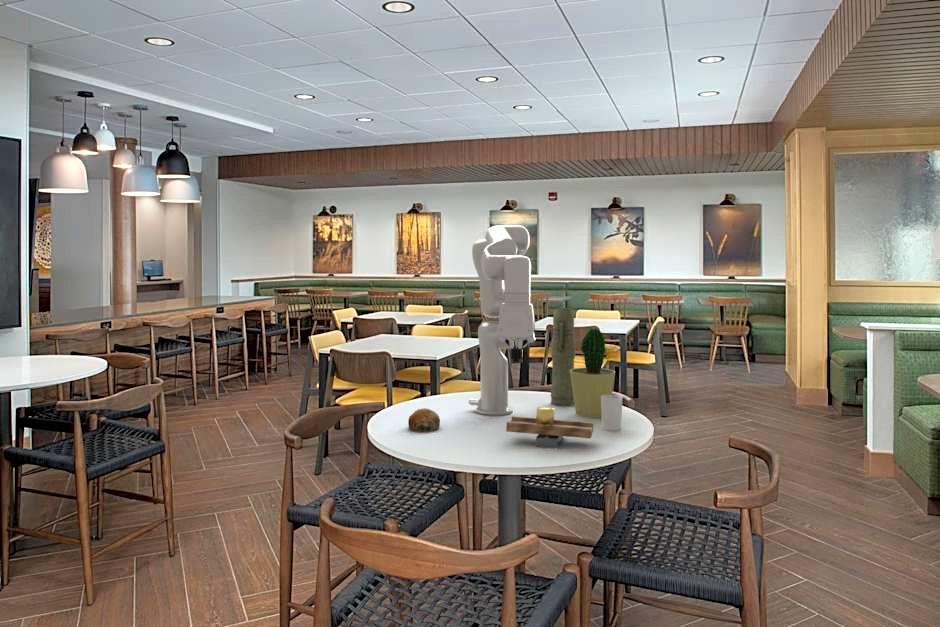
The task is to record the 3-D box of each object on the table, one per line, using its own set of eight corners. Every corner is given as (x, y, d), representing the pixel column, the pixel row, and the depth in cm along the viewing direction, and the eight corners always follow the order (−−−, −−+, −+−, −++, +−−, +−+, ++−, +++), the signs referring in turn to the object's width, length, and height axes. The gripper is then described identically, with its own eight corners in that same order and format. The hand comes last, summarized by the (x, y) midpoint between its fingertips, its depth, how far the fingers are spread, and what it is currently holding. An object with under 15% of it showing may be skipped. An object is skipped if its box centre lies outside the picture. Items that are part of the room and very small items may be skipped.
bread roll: (442, 438, 225) (446, 413, 228) (431, 431, 216) (435, 405, 219) (413, 436, 228) (417, 411, 231) (401, 429, 219) (405, 403, 222)
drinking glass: (609, 431, 218) (610, 399, 218) (596, 427, 224) (596, 395, 223) (626, 429, 221) (627, 397, 221) (612, 425, 227) (613, 394, 227)
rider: (534, 426, 204) (535, 408, 203) (538, 422, 209) (539, 405, 208) (551, 428, 202) (552, 411, 202) (554, 424, 207) (556, 407, 207)
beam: (506, 431, 204) (506, 421, 204) (512, 424, 213) (512, 415, 213) (590, 438, 198) (590, 428, 198) (593, 431, 207) (593, 421, 207)
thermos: (575, 400, 267) (576, 307, 264) (574, 406, 255) (575, 309, 253) (551, 399, 268) (552, 307, 266) (549, 406, 257) (550, 309, 254)
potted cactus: (566, 408, 252) (567, 324, 250) (610, 409, 252) (611, 324, 249) (571, 418, 237) (572, 328, 234) (618, 418, 236) (619, 328, 234)
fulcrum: (536, 446, 201) (536, 436, 201) (543, 436, 212) (543, 426, 212) (557, 448, 199) (557, 437, 199) (563, 437, 211) (563, 427, 211)
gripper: (488, 299, 204) (488, 362, 206) (540, 300, 200) (539, 364, 202) (494, 297, 211) (494, 359, 213) (544, 298, 207) (544, 361, 209)
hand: (516, 361), depth 207 cm, fingers closed
